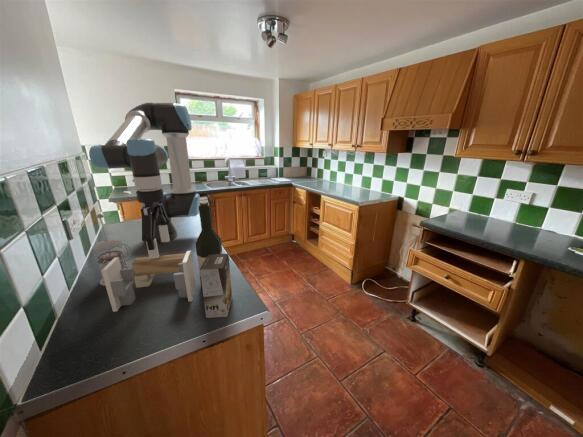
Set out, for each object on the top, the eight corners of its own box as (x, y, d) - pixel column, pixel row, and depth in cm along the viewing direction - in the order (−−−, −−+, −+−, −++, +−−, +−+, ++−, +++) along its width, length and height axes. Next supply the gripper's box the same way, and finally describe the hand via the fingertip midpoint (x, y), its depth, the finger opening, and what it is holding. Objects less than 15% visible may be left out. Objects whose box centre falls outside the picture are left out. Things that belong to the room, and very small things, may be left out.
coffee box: (228, 317, 70) (223, 268, 65) (205, 318, 69) (198, 269, 64) (232, 297, 78) (228, 253, 73) (212, 298, 78) (207, 253, 73)
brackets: (124, 295, 79) (114, 257, 75) (196, 286, 84) (190, 250, 79) (113, 311, 72) (101, 270, 67) (192, 301, 76) (186, 262, 72)
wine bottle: (203, 293, 80) (191, 207, 71) (199, 281, 87) (188, 201, 78) (227, 286, 84) (219, 203, 74) (222, 275, 91) (214, 198, 81)
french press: (93, 282, 86) (73, 216, 78) (124, 267, 97) (110, 207, 89) (111, 288, 83) (92, 220, 75) (142, 272, 93) (128, 210, 85)
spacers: (142, 278, 89) (140, 268, 88) (193, 272, 93) (192, 263, 91) (136, 287, 83) (133, 277, 82) (191, 281, 87) (189, 271, 86)
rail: (139, 270, 87) (136, 257, 85) (192, 264, 90) (190, 252, 89) (135, 276, 83) (132, 263, 81) (190, 270, 87) (188, 257, 85)
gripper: (149, 183, 88) (159, 236, 95) (119, 197, 65) (134, 267, 71) (171, 182, 90) (179, 235, 96) (149, 196, 66) (162, 264, 73)
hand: (160, 249), depth 84 cm, fingers open, 13 cm apart
